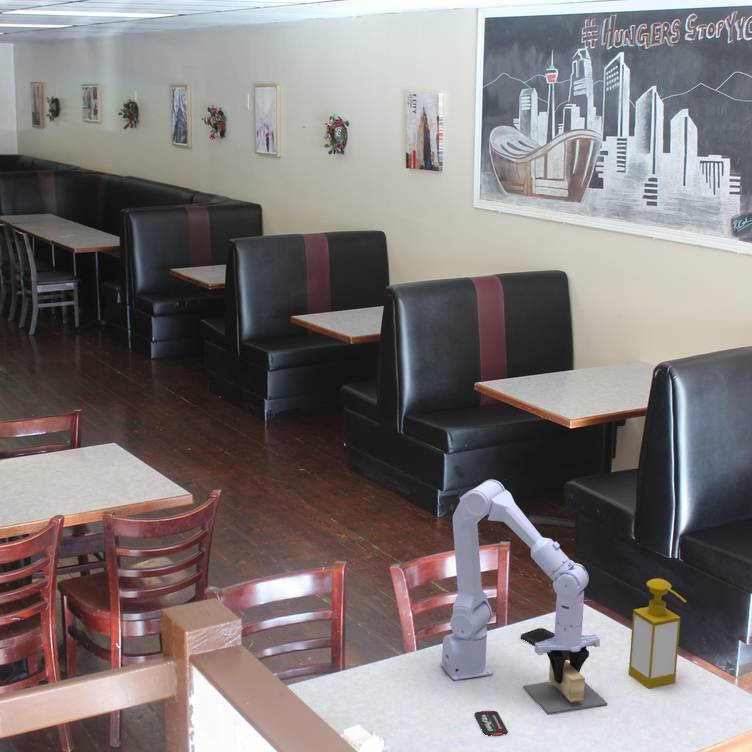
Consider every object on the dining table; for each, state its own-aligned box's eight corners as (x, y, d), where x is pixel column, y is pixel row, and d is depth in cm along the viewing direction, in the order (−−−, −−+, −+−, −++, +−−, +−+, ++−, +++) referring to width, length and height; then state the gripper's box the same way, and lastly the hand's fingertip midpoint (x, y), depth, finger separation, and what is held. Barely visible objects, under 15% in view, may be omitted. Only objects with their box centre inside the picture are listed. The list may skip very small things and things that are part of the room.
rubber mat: (547, 714, 228) (548, 712, 228) (522, 687, 240) (522, 685, 239) (607, 705, 233) (607, 703, 233) (579, 679, 244) (579, 677, 244)
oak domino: (548, 679, 240) (550, 658, 238) (561, 677, 240) (562, 656, 239) (570, 701, 230) (572, 680, 229) (583, 699, 231) (584, 678, 230)
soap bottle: (664, 700, 235) (673, 597, 230) (628, 674, 247) (635, 576, 242) (691, 694, 238) (700, 592, 233) (654, 668, 249) (662, 571, 245)
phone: (541, 627, 268) (587, 649, 257) (541, 631, 268) (587, 654, 257) (518, 635, 264) (564, 658, 252) (518, 639, 264) (564, 663, 252)
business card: (509, 733, 220) (485, 735, 219) (509, 736, 220) (485, 738, 219) (496, 709, 229) (473, 711, 228) (496, 712, 229) (473, 714, 229)
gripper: (546, 633, 227) (543, 693, 229) (608, 625, 231) (604, 684, 234) (531, 619, 233) (528, 678, 236) (592, 611, 238) (588, 669, 240)
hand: (565, 680), depth 235 cm, fingers closed on oak domino, 3 cm apart
